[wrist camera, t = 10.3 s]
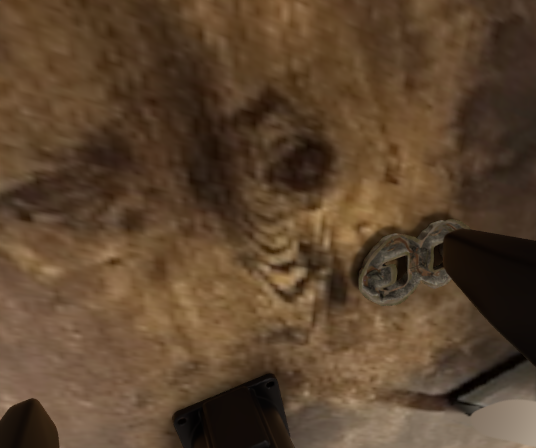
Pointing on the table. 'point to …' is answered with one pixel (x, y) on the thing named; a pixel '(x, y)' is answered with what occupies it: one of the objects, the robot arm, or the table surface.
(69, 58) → the table surface
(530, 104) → the table surface
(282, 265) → the table surface
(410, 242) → the corroded twin loop
